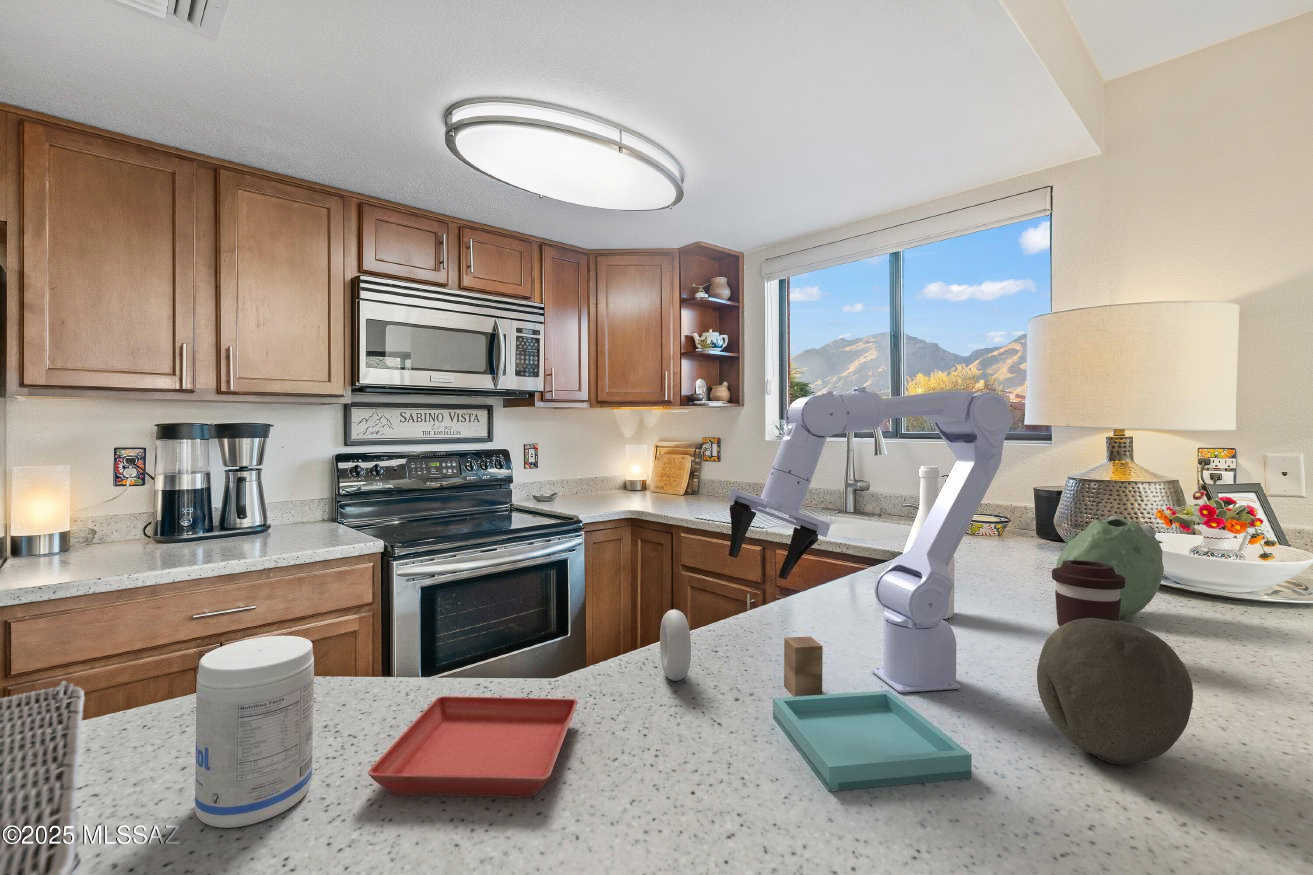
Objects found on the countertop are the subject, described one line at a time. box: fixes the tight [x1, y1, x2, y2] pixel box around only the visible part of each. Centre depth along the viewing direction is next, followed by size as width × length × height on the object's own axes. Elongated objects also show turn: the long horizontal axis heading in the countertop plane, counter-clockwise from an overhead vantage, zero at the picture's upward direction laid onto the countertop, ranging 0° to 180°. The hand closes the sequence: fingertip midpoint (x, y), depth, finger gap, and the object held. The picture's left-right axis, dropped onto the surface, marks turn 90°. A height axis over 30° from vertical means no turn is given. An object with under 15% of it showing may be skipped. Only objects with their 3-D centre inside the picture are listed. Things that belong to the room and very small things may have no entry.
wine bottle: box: [902, 465, 956, 620], centre depth 121 cm, size 10×10×30 cm
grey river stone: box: [1036, 618, 1194, 766], centre depth 68 cm, size 14×14×15 cm
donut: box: [659, 608, 692, 682], centre depth 89 cm, size 10×4×10 cm, turn 9°
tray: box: [772, 689, 973, 792], centre depth 70 cm, size 16×16×2 cm
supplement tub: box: [194, 635, 315, 829], centre depth 58 cm, size 10×10×15 cm
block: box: [783, 635, 824, 697], centre depth 84 cm, size 4×4×7 cm
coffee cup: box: [1051, 560, 1125, 628], centre depth 100 cm, size 10×10×15 cm
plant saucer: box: [367, 695, 579, 798], centre depth 67 cm, size 18×18×3 cm
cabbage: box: [1055, 515, 1165, 618], centre depth 121 cm, size 16×19×20 cm
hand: (756, 567), depth 83 cm, fingers open, 7 cm apart
